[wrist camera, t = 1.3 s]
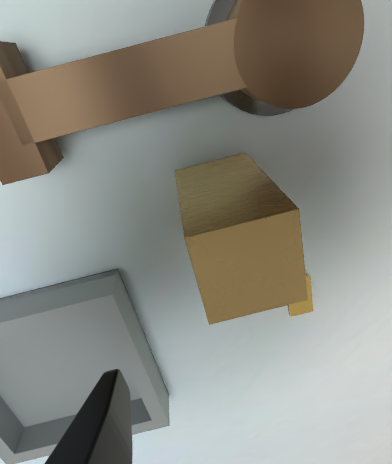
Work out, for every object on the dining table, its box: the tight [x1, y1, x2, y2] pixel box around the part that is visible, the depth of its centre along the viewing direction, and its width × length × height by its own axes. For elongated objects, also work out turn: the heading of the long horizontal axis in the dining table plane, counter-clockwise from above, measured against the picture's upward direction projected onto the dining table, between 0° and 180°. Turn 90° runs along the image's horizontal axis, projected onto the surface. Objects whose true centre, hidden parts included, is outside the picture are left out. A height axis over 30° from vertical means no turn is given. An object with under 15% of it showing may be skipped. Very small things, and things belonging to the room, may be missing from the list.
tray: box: [0, 269, 170, 464], centre depth 23 cm, size 12×12×3 cm
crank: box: [0, 0, 364, 185], centre depth 14 cm, size 16×5×3 cm, turn 103°
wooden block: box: [175, 153, 308, 325], centre depth 16 cm, size 4×4×8 cm
